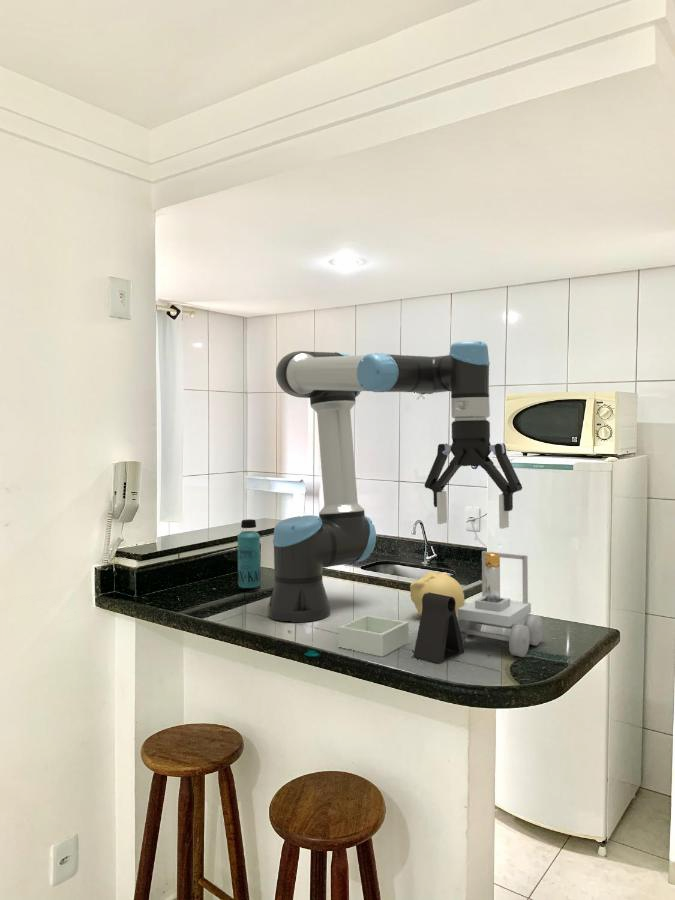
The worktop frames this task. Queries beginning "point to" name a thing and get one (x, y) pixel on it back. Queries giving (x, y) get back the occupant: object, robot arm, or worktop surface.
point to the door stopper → (438, 630)
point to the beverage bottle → (248, 556)
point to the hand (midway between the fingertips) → (472, 525)
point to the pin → (492, 577)
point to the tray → (374, 635)
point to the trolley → (503, 615)
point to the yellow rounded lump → (436, 589)
